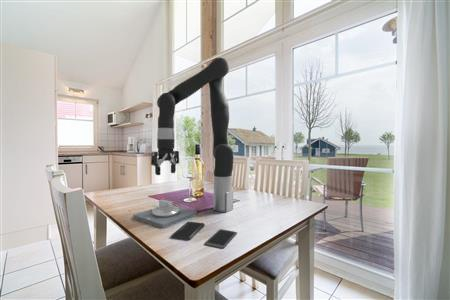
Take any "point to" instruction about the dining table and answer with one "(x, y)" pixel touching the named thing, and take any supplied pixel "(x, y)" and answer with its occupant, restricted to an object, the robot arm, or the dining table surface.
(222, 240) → the cell phone
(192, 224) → the phone
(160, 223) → the dial base
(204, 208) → the dining table surface
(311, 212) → the dining table surface
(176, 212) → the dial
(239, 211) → the dining table surface
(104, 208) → the dining table surface
